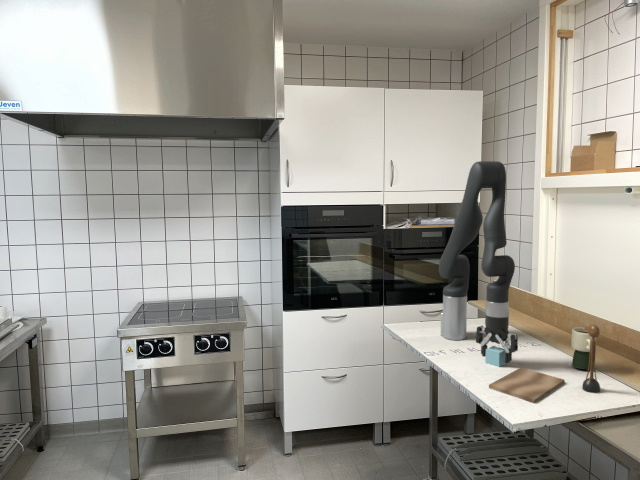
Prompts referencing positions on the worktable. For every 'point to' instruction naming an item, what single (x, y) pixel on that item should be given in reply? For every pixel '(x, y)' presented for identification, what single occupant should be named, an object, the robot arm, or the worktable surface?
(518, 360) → the worktable surface
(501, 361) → the teal cube
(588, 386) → the wooden tabletop sculpture
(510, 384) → the walnut board
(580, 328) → the character mug
